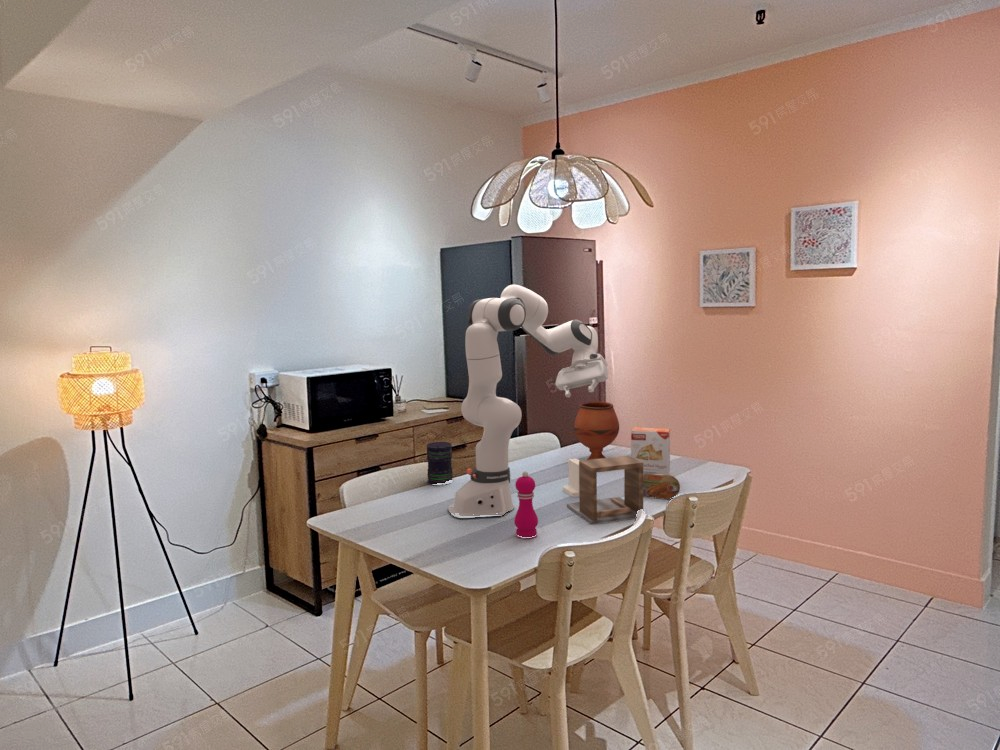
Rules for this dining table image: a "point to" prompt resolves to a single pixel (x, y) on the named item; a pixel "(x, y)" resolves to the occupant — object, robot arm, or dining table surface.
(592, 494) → the frame
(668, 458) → the cracker box
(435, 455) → the storage jar
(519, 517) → the pepper mill
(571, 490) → the tall narrow cream block
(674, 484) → the tin
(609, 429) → the goblet
